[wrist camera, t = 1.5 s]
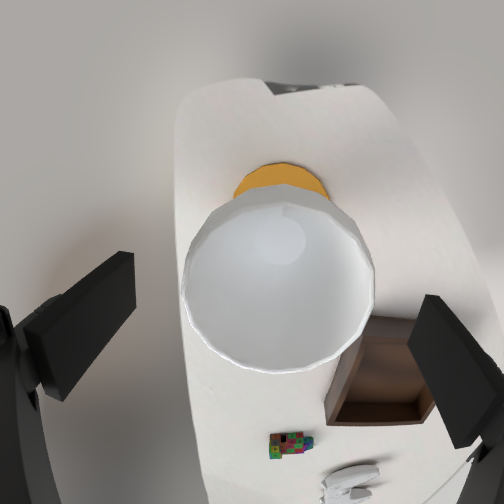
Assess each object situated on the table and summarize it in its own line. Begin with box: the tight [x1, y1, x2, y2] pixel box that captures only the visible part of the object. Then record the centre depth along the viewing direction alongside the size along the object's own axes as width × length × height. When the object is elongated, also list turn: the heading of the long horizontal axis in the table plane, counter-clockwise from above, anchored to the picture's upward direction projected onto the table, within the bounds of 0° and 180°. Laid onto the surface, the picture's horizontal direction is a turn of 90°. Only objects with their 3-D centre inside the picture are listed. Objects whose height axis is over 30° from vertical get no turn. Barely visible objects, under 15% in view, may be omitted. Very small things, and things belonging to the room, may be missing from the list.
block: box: [269, 432, 313, 459], centre depth 37 cm, size 6×4×3 cm
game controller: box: [319, 465, 380, 504], centre depth 41 cm, size 14×4×10 cm
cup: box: [181, 163, 375, 374], centre depth 20 cm, size 9×9×16 cm
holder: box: [324, 316, 436, 426], centre depth 31 cm, size 14×14×4 cm
